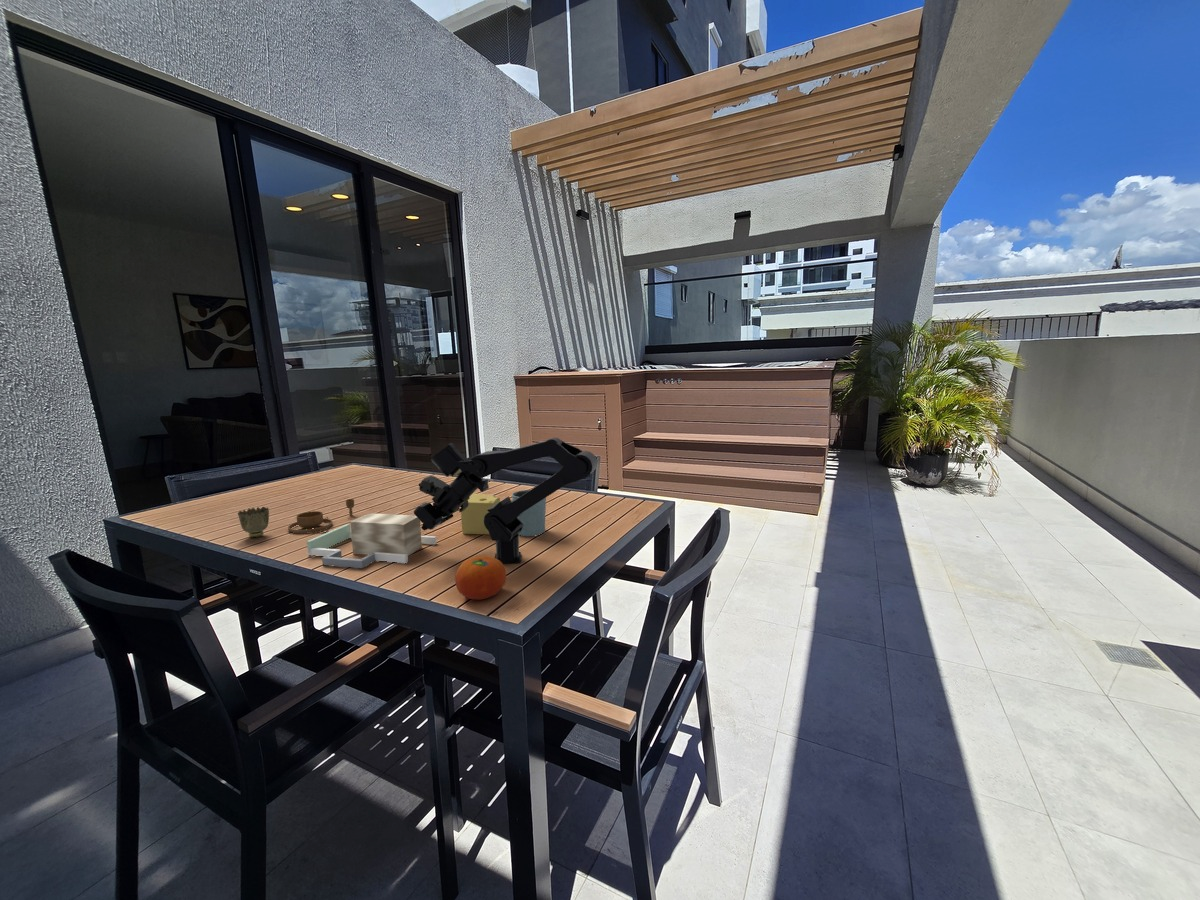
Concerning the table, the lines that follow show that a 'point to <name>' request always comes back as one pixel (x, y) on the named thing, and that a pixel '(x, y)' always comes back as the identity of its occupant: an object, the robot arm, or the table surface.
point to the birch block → (386, 534)
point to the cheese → (477, 513)
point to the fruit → (480, 577)
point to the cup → (254, 521)
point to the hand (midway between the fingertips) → (423, 528)
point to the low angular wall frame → (334, 558)
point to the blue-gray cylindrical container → (532, 517)
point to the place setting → (315, 520)
